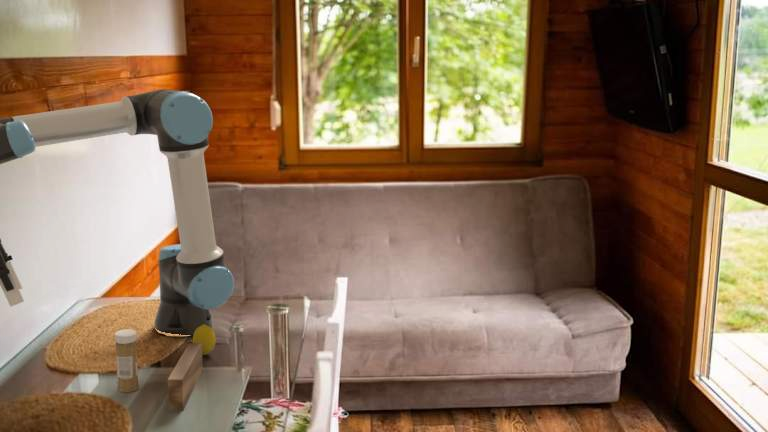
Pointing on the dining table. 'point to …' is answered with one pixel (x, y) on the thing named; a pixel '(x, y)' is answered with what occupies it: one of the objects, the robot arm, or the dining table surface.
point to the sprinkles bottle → (126, 360)
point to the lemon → (205, 338)
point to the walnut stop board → (185, 376)
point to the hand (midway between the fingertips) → (16, 297)
